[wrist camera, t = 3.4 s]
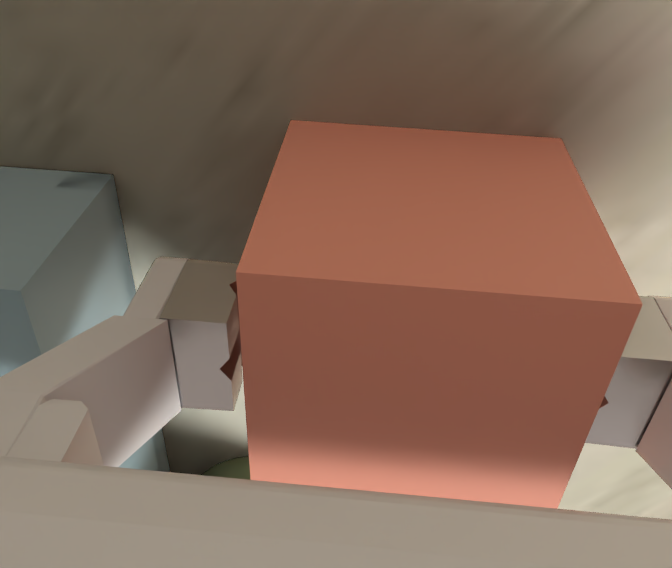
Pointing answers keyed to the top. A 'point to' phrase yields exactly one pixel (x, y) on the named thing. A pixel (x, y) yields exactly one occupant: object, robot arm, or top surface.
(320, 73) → the top surface
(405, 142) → the red block
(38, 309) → the bin
